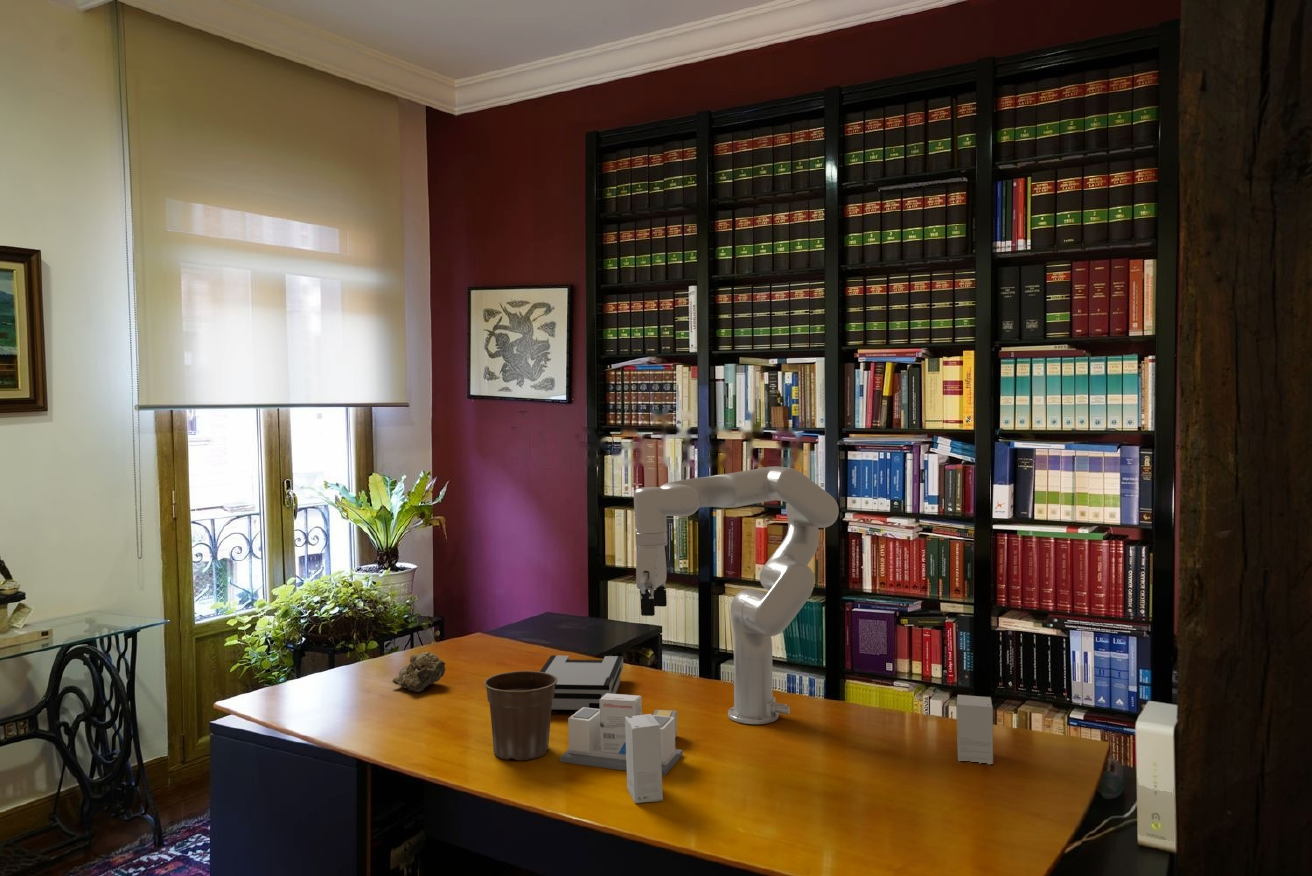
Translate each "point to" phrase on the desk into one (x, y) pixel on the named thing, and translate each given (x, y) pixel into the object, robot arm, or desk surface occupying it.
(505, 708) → the plant pot
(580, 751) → the white u-shaped stand
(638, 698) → the ink box
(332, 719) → the desk surface
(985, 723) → the supplement box
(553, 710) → the game console
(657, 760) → the skincare box
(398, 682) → the mineral specimen
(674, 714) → the block
